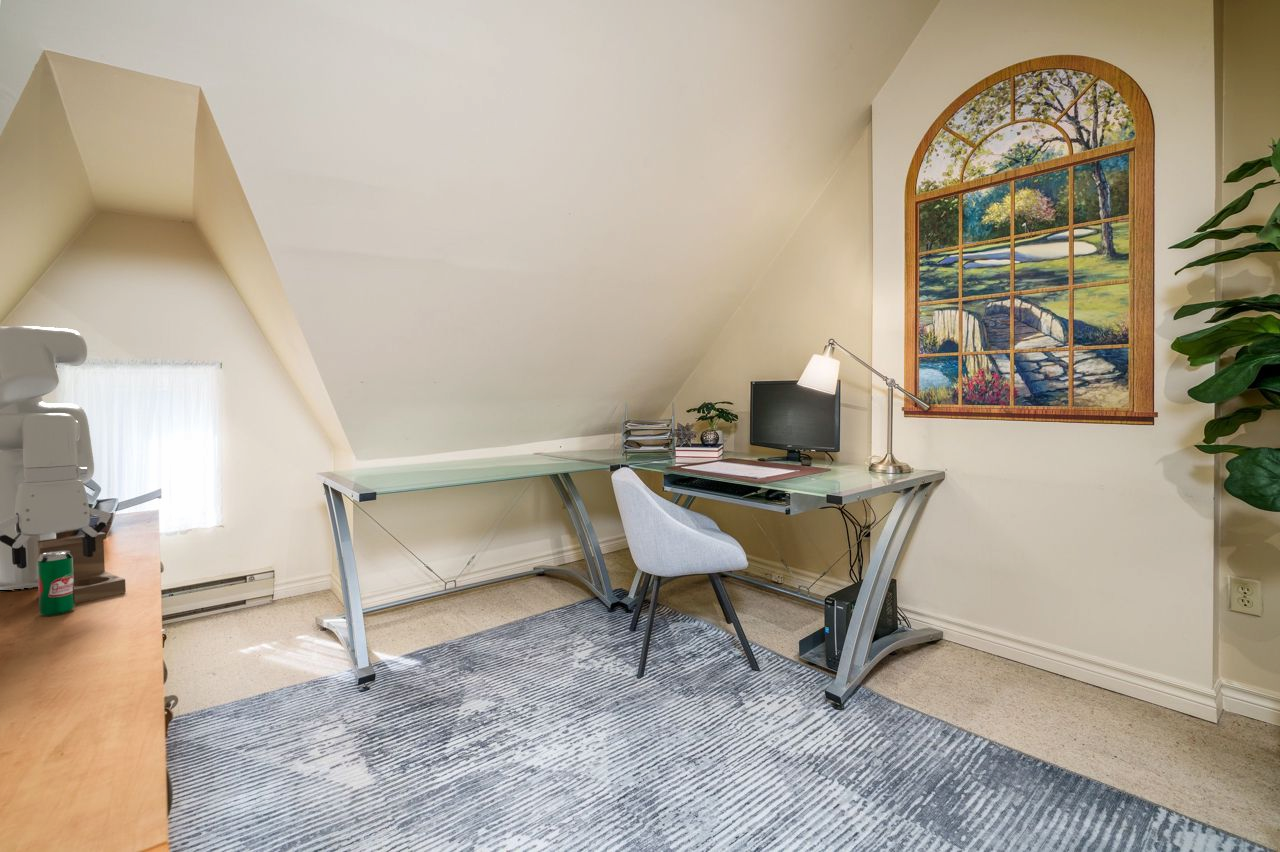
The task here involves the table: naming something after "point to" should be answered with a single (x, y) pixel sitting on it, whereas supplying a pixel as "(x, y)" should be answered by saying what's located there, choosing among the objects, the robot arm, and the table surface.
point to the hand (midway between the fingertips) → (56, 561)
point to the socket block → (86, 568)
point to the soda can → (55, 583)
